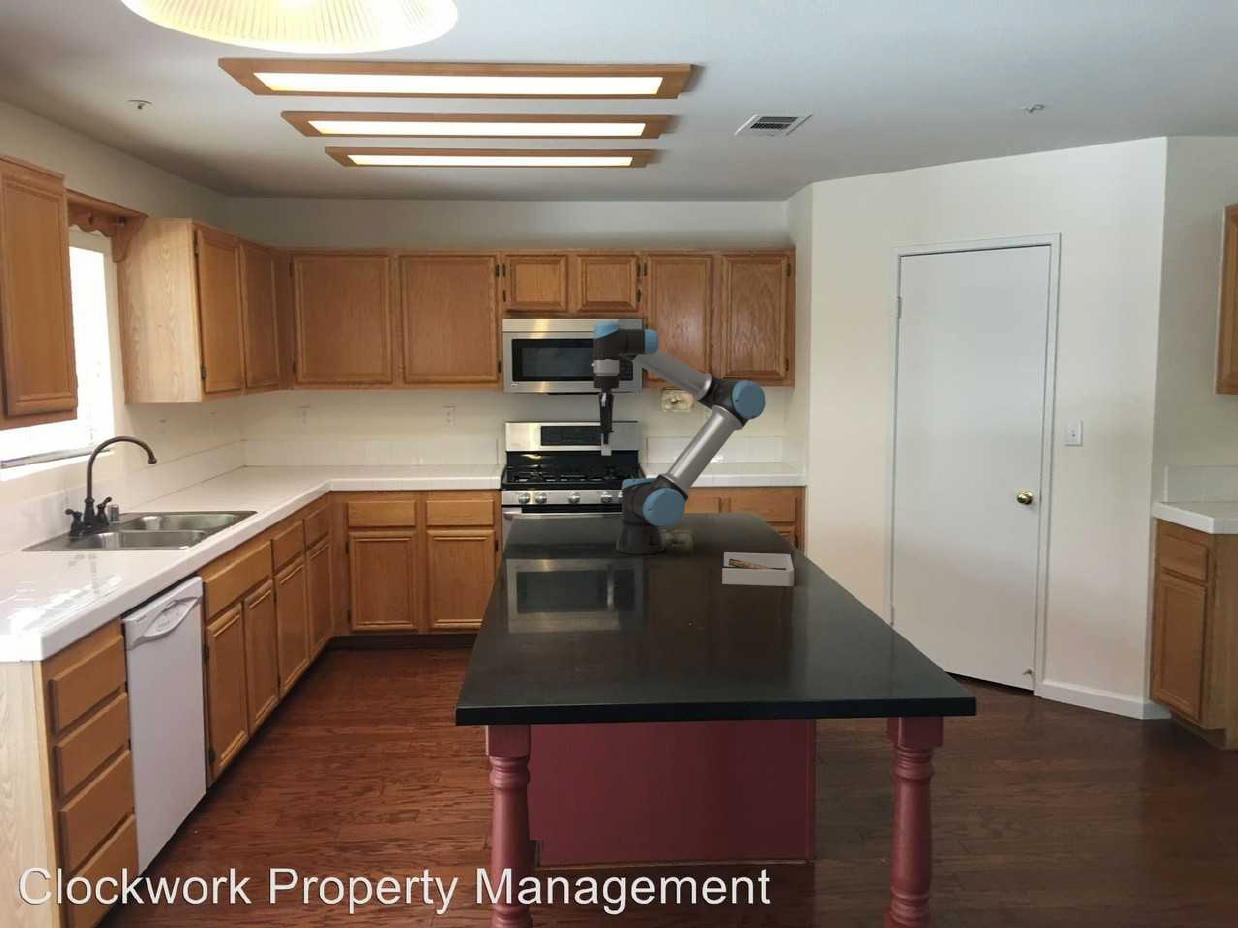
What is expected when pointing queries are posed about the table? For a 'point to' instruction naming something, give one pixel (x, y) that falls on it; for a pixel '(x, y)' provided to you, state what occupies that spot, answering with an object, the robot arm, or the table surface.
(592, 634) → the table surface
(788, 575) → the box
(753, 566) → the ammunition clip
